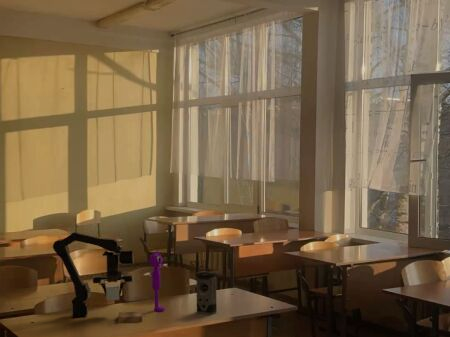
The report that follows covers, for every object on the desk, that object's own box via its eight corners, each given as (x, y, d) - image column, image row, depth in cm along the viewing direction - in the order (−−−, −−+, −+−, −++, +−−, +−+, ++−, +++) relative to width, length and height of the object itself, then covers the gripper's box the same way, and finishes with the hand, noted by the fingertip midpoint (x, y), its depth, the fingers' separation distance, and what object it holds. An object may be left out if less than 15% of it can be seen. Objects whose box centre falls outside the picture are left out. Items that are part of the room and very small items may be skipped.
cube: (106, 300, 296) (106, 288, 296) (106, 298, 302) (106, 285, 302) (119, 299, 297) (118, 287, 297) (119, 297, 302) (119, 285, 302)
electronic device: (195, 312, 303) (195, 272, 303) (201, 310, 308) (201, 270, 308) (211, 314, 298) (211, 273, 299) (217, 312, 304) (217, 272, 304)
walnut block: (118, 323, 285) (118, 317, 285) (118, 318, 295) (118, 312, 295) (142, 322, 286) (142, 316, 286) (141, 317, 296) (141, 311, 296)
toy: (153, 319, 291) (153, 256, 291) (138, 318, 292) (137, 255, 292) (174, 303, 324) (173, 247, 324) (160, 303, 326) (159, 246, 326)
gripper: (92, 267, 290) (92, 300, 290) (131, 266, 293) (132, 298, 293) (93, 264, 301) (93, 296, 301) (131, 262, 304) (132, 294, 304)
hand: (112, 296), depth 299 cm, fingers closed on cube, 6 cm apart
